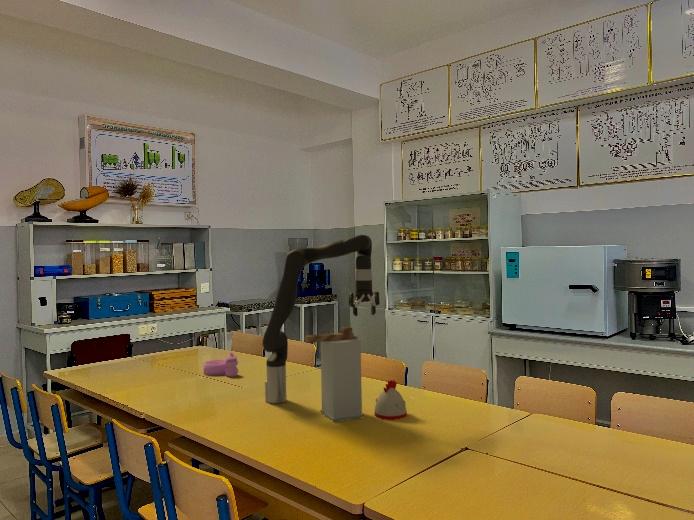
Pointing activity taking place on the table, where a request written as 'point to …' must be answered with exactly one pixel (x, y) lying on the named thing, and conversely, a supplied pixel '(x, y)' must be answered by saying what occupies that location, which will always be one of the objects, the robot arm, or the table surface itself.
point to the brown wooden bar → (331, 336)
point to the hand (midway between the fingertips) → (364, 315)
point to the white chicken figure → (390, 403)
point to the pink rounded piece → (222, 366)
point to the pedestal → (341, 379)
